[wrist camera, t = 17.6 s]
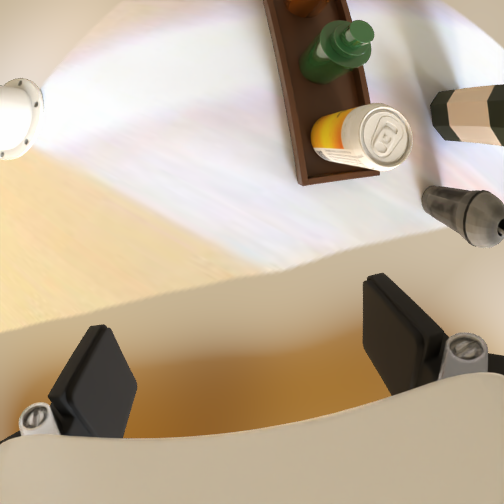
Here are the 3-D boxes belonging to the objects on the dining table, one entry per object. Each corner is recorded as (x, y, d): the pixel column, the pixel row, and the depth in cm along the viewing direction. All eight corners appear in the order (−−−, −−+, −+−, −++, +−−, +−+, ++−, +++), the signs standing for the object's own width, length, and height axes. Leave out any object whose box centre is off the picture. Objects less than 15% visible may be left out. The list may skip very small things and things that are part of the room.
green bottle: (302, 86, 34) (340, 58, 21) (294, 47, 32) (326, 4, 19) (342, 83, 34) (395, 59, 21) (334, 46, 32) (381, 8, 19)
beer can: (361, 132, 36) (426, 130, 22) (339, 169, 38) (396, 185, 24) (323, 106, 35) (375, 87, 21) (300, 145, 37) (342, 145, 23)
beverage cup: (443, 170, 39) (542, 196, 21) (453, 211, 42) (544, 253, 23) (409, 187, 40) (509, 223, 21) (421, 230, 42) (511, 283, 24)
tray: (298, 183, 39) (302, 186, 36) (258, -18, 29) (259, -27, 26) (371, 173, 39) (380, 175, 37) (331, -19, 29) (337, -27, 26)
